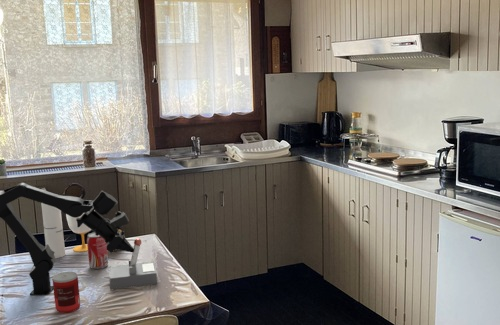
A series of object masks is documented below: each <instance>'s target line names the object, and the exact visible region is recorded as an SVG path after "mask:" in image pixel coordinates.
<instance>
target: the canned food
mask: <svg viewBox="0 0 500 325" xmlns="http://www.w3.org/2000/svg"><path fill="white" fill-rule="evenodd" d="M51 281H52V286H53V290H52V291H53V297H54V305H55V310H56V312H58V313H61V314H70V313H74V312H76V311H78V310H79V309H80V307H81V296H80V295H81V294H80V286H79V278H78V273H77V272H75V271H63V272H58V273H56V274H54V275H53V276H52V280H51Z"/></svg>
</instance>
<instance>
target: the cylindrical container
mask: <svg viewBox="0 0 500 325" xmlns="http://www.w3.org/2000/svg"><path fill="white" fill-rule="evenodd" d="M40 204H41V213H42V224H43V232H44V242H45V246H46V245H47V244H48V245H49V247H50V249H51V250H52V251H53V252H55V253H54V256H55V259H60V258H62V257H65V255H66V249H65V248H66V247H65V240H64V239H65V238H64V237H65V236H64V230H63V220H62V211H61V210H59V209H58V208H56V207H53V206H50V205H47V204H43V203H40Z"/></svg>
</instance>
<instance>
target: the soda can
mask: <svg viewBox="0 0 500 325" xmlns="http://www.w3.org/2000/svg"><path fill="white" fill-rule="evenodd" d="M86 244H87V247H88V251H87V255H88V265H89V267H90V268H91V269H93V270H100V269H105V268H106V267H107V266H108V265H109V257H108V256H109V255H108V250H107V244H106V242H105V240H104V239H103V238H102V237H101V236H99V235H98V236H97V235H95V232H94V231H92V232H91V233H88V234H87V237H86Z"/></svg>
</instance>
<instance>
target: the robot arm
mask: <svg viewBox="0 0 500 325" xmlns="http://www.w3.org/2000/svg"><path fill="white" fill-rule="evenodd" d="M98 193H99V194H98V195H97V196H96V197H95V199H94V200H89V199H88V200H87V199H83V198H81V197H77V196H72V195H60V194H56V193H53V192H50V191H47V190H45V189H41V188H38V187H35V186H33V185H29V184H27V183H25V182H20V183H18V184H16V185H14V186H12V187H8V188H6V189H3V190H0V219H1V220H3V221H4V223H5V224H6V225H7V227H8V228H9V229H10V230H11V231H12V233H13V234H14V235H15V237H16V238H17V239H18V240H19V242H20V243H21V244H22V245H23V247H24V248H25V249H26V250H27V252H28V253H29V256H30V258H31V259H30V260H31V262H32V267H31V270H30V272H29V274H28V275H29V277H30V279H31V281H32V290H31V291H30V293H29V296H38V295H39V296H40V295H41V296H42V295H43V296H44V295H45V296H46V295H49V294H50V293H51V292H52V291H54V290H53V285H51V284H52V283H51V279H50V278H51V277H50V276H51V275H50V272H51V270H52V269H53V266H54V264H55V260H56V258H55V256H54V253H55V252H53V251H52V250H51V249H50V247H49V245H48V244H47V245H46V244H45V246H44V245H43V244H41V243H40V242H39V241H38V240H37V238H36V237H35V235H34V234H33V233H32V232H31V231H30V229H29V228H28V227H27V226H26V224H25V223H24V221H23V220H22V219H21V218H20V217H19V215H18V214H17V213H16V212H15V209H14V206H13V203H12V202H13V201H15V200H17V199H19V198H25V199H28V200H31V201H35V202H37V203H40V204H41V203H43V204H47V205H50V206H53V207H56V208H58V209H59V210H61V213H63V214H65V215H66V214H67V215H69V216H71V217H75V218H76V217H79V216H81V215H82V214H83V213H84V214H83V215H82V217H81V218H77V219H76V221H77V227H80V226H81V225H82V224H85V225H86V226H87V227H89V228H90V229H91V230H90V231H92V232H95V235H97V236H98V235H99V236H101V237H102V238H103V239H104V240H105V242H106V243H107V252H109V253H110V254H112V253H113V252H115V251H114V250H115V249H117V251H118V250H119V251H122V252H128V253H133V251H134V246H132V244H131V243H130V242H129V241H128V240H127V238H126V237H125V230H123V227H124V226H126V225H128V224H129V223H130V220H129V217H128V216H127V214H126V213H125V212H124V211H122V212H121V211H120V210H118V211H115V217H113V218H112V219H110V218H105V217H103V216H105V215H108V214H109V213H110V212H111V211H112V210H113V208H114V207H115V206H117V205H118V203H119V202H118V200H117V199H116V198H115V197H114V196H113V195H112V194H109V193H108V192H105V191H104V190H101V191H100V192H98ZM94 210H95V211H94ZM119 229H120V230H121V229H122V230H121V231H122V232H121V233H120V232H118V230H119Z"/></svg>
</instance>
